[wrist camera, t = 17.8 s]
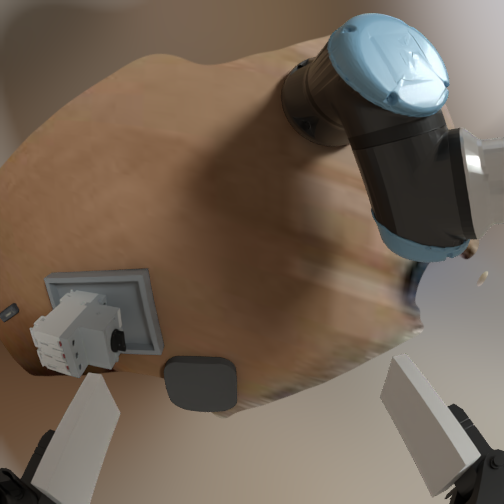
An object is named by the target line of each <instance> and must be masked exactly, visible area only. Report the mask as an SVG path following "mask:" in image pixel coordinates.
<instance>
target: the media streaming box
mask: <svg viewBox="0 0 504 504" xmlns="http://www.w3.org/2000/svg"><path fill="white" fill-rule="evenodd" d="M164 379H165V385H166V389H167V392H168V395H169V398H170V400H171V401H172V402H173V403H174V404H175V405H177V406H178V407H180V408H183V409H186V410H191V411H199V412H218V411H225V410H228V409H231V408H232V407H234V406H235V405H236V403H237V376H236V368H235V366H234V364H233V363H232V362H230V361H229V360H227V359H225V358H221V357H201V356H175V357H172V358H170V359H169V360H168V361H167V363H166V366H165V369H164Z"/></svg>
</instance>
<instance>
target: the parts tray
mask: <svg viewBox="0 0 504 504" xmlns="http://www.w3.org/2000/svg"><path fill="white" fill-rule="evenodd" d="M44 281H45V284H46V288H47V291H48V294H49V298H50V301H51V304H52V307H53V309H55V308H56V307H57V306H58V305H59V304H60V299H61V298H62V297H63V296H64V295H65V294H67V293H70V290H71V289H72V290H73V292H75V291H76V290H78V291H84V292H90V293H96V294H102V295H106V299H107V306H112V307H118V308H120V312H121V320H122V328H123V331H124V335H125V337H124V338H125V344H126V351H125V352H124V351H121V353H124V354H146V355H161V354H162V351H163V348H164V342H163V338H162V334H161V330H160V326H159V321H158V317H157V312H156V308H155V303H154V298H153V293H152V288H151V283H150V277H149V272H148V268H146V269H126V270H105V271H83V272H59V273H51V274H49V275H48V276H47V277H45V278H44ZM69 297H70V296H69Z"/></svg>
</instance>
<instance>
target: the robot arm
mask: <svg viewBox="0 0 504 504" xmlns="http://www.w3.org/2000/svg"><path fill="white" fill-rule="evenodd" d="M448 86H449V77H448V73H447V70H446V67H445V64H444V62H443V60H442V58H441V56H440V55H439V53H438V52H437V50H436V49H435V47H434V46H433V45H432V44H431V43H430V42H429V41H428V39H426V37H424V36H423V35H422V34H421V33H420V32H419V31H418V30H416V29H415V28H413V27H410V26H408V25H407V24H406V23H404V22H403V21H401V20H399V19H397V18H394V17H392V16H388V15H384V14H377V13H368V14H362V15H358V16H356V17H353V18H351V19H350V20H348V21H347V22H346V23H345V24H344V25H342V26H341V27H340V28H338V30H335V31H334V32H333V33H332V35H331V36H330V39H329V41H328V42H327V43H326V45H325V46H324V47H323V49H322V50H321V51H320V53H319V54H318V55H317V57H313V58H309V59H307V60H304V61H303V62H301V63H299V64H298V65H297V66H295V67H294V68H293V69H292V71H291V72H290V73H289V75H288V77H287V78H286V80H285V82H284V85H283V88H282V106H283V110H284V113H285V115H286V117H287V119H288V121H289V122H290V124H291V125H292V126H293V128H294V129H295V130H296V131H297V132H298V133H299V134H301V135H302V136H303V137H305V138H306V139H308V140H310V141H312V142H314V143H317V144H320V145H324V146H341V145H346V144H350V145H351V147H352V151H353V154H354V156H355V159H356V162H357V165H358V167H359V170H360V173H361V176H362V179H363V182H364V185H365V188H366V191H367V194H368V197H369V201H370V204H371V207H372V208H371V212H372V216H373V218H374V220H375V222H376V223H377V226H378V229H379V232H380V235H381V238H382V240H383V242H384V243H385V244H386V246H387V247H388V248H389V249H390V250H391V251H392V252H394V253H395V254H397V255H399V256H401V257H403V258H406V259H409V260H413V261H418V262H439V261H445V260H446V257H450V258H454V257H456V256H458V255H460V254H461V253H462V252H463V251H464V250H465V249H466V248H467V246H468V244H469V241H470V239H481V238H482V237H483V236H484V235H485V233H486V232H487V231H488V230H489V228H490V227H491V226H492V225H494V224H504V137H503V138H494V139H486V140H481V139H479V138H477V137H475V136H474V135H473V134H472V133H470V132H469V131H468V130H466V129H465V128H458V129H451V130H449V129H448V128H447V125H446V123H445V119H444V116H443V114H442V111H441V108H442V106H443V105H444V104H445V102H446V100H447V98H448V93H449V92H448V90H447V89H446V88H447V87H448ZM380 398H381V400H382V402H383V403H384V405H385V407H386V409H387V411H388V413H389V414H390V416H391V418H392V420H393V422H394V424H395V426H396V427H397V429H398V431H399V433H400V435H401V437H402V439H403V441H404V442H405V444H406V446H407V448H408V450H409V452H410V454H411V456H412V458H413V460H414V462H415V464H416V466H417V468H418V469H419V472H420V474H421V476H422V478H423V480H424V482H425V484H426V486H427V488H428V490H429V492H430V494H431V496H432V497H434V496H436V495H438V494H440V493H442V492H444V491H446V490H447V489H448V488H449V487H450V486H452V485H453V484H455V486H456V487H455V488H454V489H452V490H451V491H450V492H449V493H448V494H447V495H446V498H445V499H447V498H449V497H450V496H451V495H452V497H451V498H450V503H449V504H504V451H502V450H499V449H498V450H493V449H492V448H491V447H490V446H489V445H488V443H487V442H486V440H485V439H484V438H483V436H482V435H481V434H480V432H479V431H478V429H477V428H476V427H475V426H474V425H473V423H472V421H471V420H470V419H469V417H468V416H467V415H466V413H465V412H464V410H463V409H461V408H460V407H458V406H457V405H455V404H452V405H450V406H448V407H447V406H446V404H445V403H444V402H443V400H442V399H441V398H440V396H439V395H438V393H437V392H436V391H435V389H434V388H433V387H432V386H431V384H430V383H429V382H428V380H427V379H426V378H425V377H424V375H423V374H422V373H421V371H420V370H419V369H418V368H417V366H416V365H415V364H414V363H413V361H412V360H411V359H410V357H409V356H408V355H407V354H406V353H405V354H401V355H397V356H393V357H392V361H391V364H390V367H389V371H388V374H387V377H386V380H385V384H384V386H383V389H382V393H381V395H380ZM119 416H120V411H119V409H118V407H117V405H116V403H115V401H114V399H113V397H112V395H111V393H110V391H109V389H108V387H107V385H106V383H105V381H104V378H103V376H102V374H95V373H88V374H87V376H86V378H85V379H84V381H83V383H82V384H81V386H80V388H79V390H78V391H77V393H76V395H75V396H74V398H73V400H72V402H71V403H70V405H69V407H68V409H67V411H66V413H65V414H64V416H63V418H62V420H61V422H60V424H59V426H58V427H57V429H56V431H53V430H49V431H48V432H46V433H45V434H44V435H43V436H42V438H41V440H40V441H39V443H38V447H36V449H35V451H34V454H33V455H32V457H31V459H30V461H29V463H28V465H27V468H26V469H25V472H24V474H23V476H22V478H21V479H19V478H18V477H17V476H16V475H15V474H14V473H13V472H12V471H11V470H9V469H7V468H1V469H0V504H90V501H91V498H92V494H93V491H94V488H95V485H96V482H97V478H98V475H99V472H100V469H101V466H102V463H103V460H104V457H105V455H106V452H107V449H108V446H109V443H110V440H111V437H112V435H113V432H114V429H115V427H116V424H117V421H118V419H119Z"/></svg>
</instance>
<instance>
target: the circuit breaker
mask: <svg viewBox="0 0 504 504" xmlns="http://www.w3.org/2000/svg"><path fill="white" fill-rule="evenodd" d="M69 296H70V297H69ZM41 320H42V321H41ZM30 331H31V335H32V338H33V341H34V344H35V346H36V347H38V349H37V353H38V356H39V358H40V361H41V364H42V366H43V367H44V366H47V368H48V369H51V370H54V371H57V372H60V373H64V374H67V375H70V376H74V377H77V378H80V377H81V375H82V374H83V372H84V370H85V369H86V367H87V366H88V365H93V366H98V367H102V368H107V369H112V368H113V366H114V364H115V362H118V360H119V358H118V356H119V355H120V353H121V351H124V352H125V351H126V344H125V338H124V337H125V335H124V331H123V328H122V320H121V312H120V308H118V307H112V306H107V299H106V295H102V294H96V293H90V292H84V291H78V290H76V291H75V292H73V290H72V289H71V290H70V293H67V294H65V295H64V296H63V297H62V298H61V299H60V304H59V305H58V306H57V307H56V308H55V309H53V310H52V311H51V312H50V313H49V314H48V315H47V316H46V317H45V316H41V317H40V318H39V319H38V320H37V321H36V322H35V323H34V327H33V328H30ZM35 338H36V339H35ZM36 340H37V341H36ZM40 353H41V354H40Z"/></svg>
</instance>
